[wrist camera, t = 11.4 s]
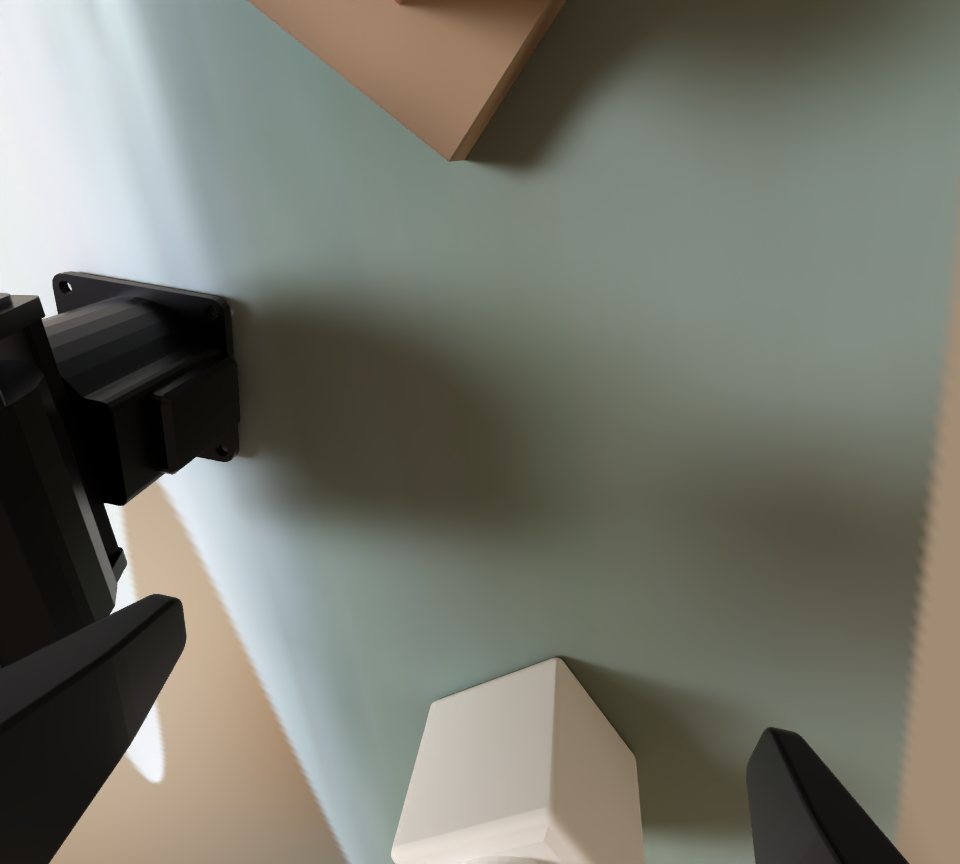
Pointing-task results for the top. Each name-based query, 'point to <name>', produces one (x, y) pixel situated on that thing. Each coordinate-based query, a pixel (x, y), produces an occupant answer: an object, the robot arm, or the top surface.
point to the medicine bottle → (521, 778)
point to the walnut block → (424, 56)
